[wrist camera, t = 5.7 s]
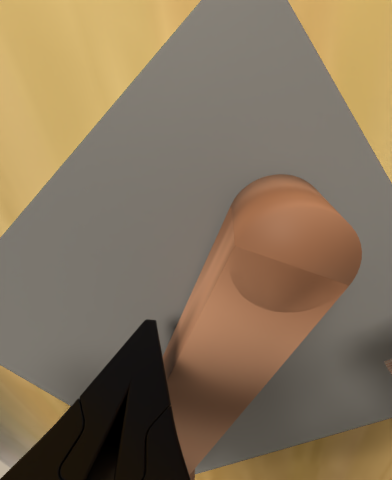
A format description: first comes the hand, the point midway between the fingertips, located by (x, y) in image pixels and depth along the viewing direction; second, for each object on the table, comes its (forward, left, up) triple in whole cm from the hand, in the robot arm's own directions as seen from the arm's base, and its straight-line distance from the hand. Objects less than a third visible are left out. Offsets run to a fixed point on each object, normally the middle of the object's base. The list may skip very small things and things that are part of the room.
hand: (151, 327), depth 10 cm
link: (-1, -3, -1) cm, 4 cm away
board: (-1, -4, -2) cm, 4 cm away
